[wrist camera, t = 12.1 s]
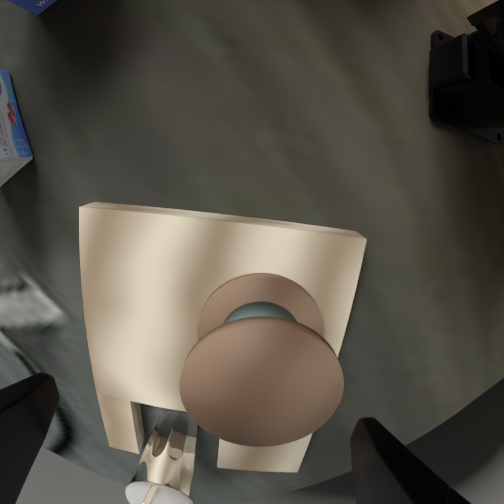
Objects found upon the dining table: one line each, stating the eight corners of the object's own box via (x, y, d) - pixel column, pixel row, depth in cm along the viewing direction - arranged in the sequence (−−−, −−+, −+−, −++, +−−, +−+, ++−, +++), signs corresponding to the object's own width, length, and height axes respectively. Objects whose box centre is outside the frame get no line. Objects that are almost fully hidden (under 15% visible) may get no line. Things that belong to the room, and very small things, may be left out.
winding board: (356, 231, 19) (366, 239, 17) (295, 455, 24) (297, 472, 22) (94, 202, 18) (79, 207, 16) (116, 431, 24) (109, 446, 22)
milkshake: (207, 400, 22) (187, 512, 13) (206, 443, 24) (191, 542, 14) (148, 391, 22) (108, 494, 13) (154, 435, 24) (125, 528, 14)
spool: (332, 280, 17) (363, 332, 12) (307, 381, 19) (321, 448, 14) (203, 265, 17) (180, 315, 12) (197, 370, 19) (180, 437, 14)
